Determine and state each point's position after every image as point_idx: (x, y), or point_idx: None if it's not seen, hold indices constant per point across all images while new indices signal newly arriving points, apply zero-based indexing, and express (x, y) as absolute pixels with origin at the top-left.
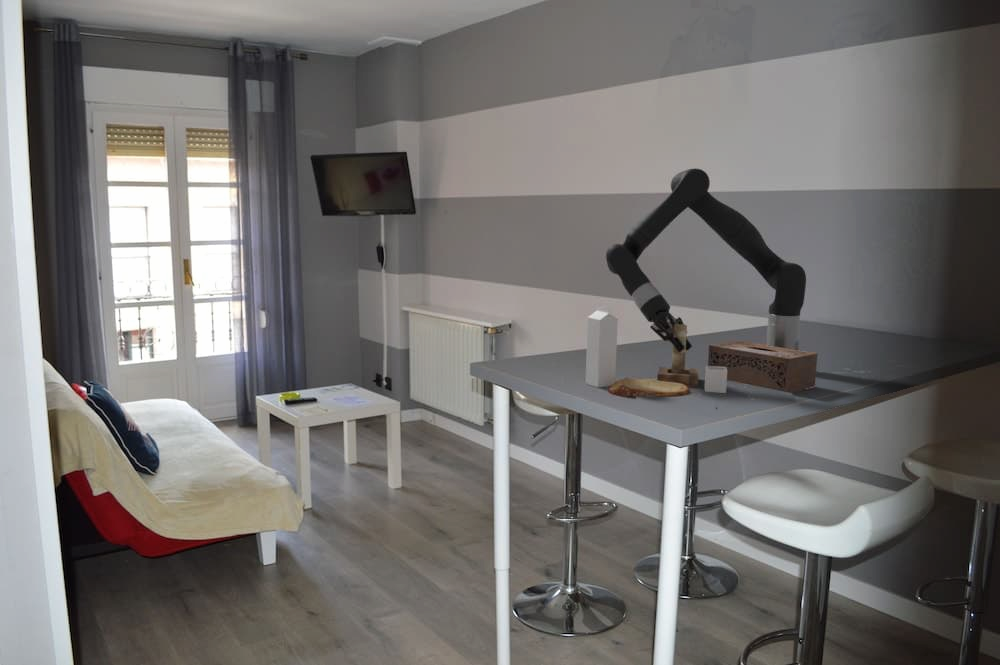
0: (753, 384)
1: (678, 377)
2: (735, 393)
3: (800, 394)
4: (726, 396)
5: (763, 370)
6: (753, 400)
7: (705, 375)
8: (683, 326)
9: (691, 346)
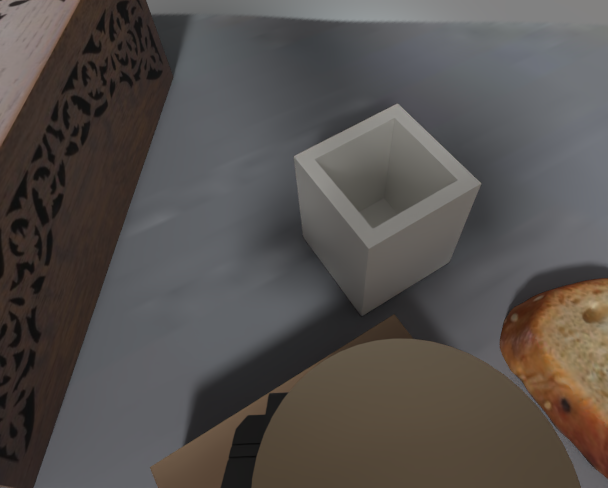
0: (127, 188)
1: None
2: None
3: None
4: None
5: (110, 94)
6: (374, 94)
7: (449, 222)
8: (473, 357)
9: (279, 393)
